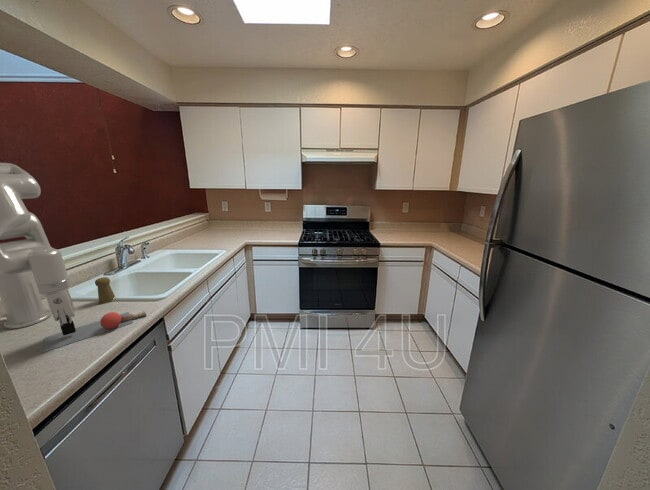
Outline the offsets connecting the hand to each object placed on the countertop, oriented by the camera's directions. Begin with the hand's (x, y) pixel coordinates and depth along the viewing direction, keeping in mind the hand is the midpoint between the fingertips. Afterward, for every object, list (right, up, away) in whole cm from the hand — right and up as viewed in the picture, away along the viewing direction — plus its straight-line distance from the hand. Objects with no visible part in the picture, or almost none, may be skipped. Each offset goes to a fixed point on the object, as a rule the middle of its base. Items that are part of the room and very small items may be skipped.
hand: (69, 332), depth 91 cm
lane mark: (+4, 0, +4) cm, 6 cm away
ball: (+11, +3, +5) cm, 12 cm away
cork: (-9, +6, +26) cm, 28 cm away
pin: (+11, +2, +9) cm, 14 cm away
